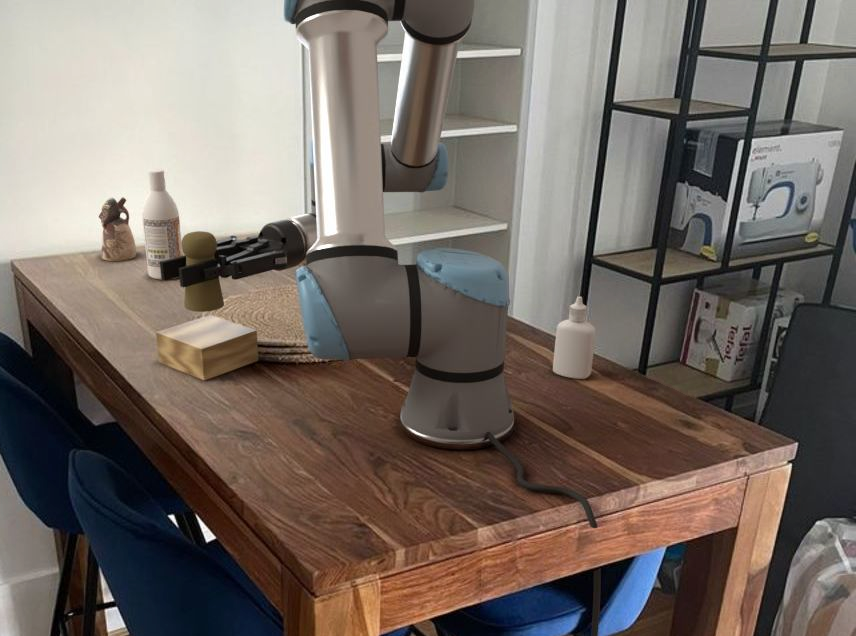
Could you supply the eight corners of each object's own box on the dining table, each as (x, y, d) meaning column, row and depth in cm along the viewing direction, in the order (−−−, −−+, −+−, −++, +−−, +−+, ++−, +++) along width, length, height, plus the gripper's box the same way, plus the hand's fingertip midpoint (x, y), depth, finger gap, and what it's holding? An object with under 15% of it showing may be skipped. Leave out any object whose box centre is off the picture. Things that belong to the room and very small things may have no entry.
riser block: (258, 360, 159) (256, 330, 157) (204, 380, 152) (201, 349, 150) (213, 344, 166) (210, 314, 163) (159, 362, 159) (155, 332, 156)
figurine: (103, 252, 214) (96, 194, 208) (138, 251, 215) (131, 193, 209) (100, 261, 208) (92, 202, 202) (135, 260, 208) (128, 201, 202)
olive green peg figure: (216, 312, 151) (211, 239, 146) (178, 310, 152) (171, 237, 147) (229, 300, 157) (224, 228, 151) (192, 297, 158) (185, 226, 152)
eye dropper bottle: (571, 365, 156) (579, 289, 151) (595, 377, 152) (603, 300, 146) (548, 370, 155) (555, 294, 149) (571, 383, 150) (579, 304, 144)
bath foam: (185, 279, 197) (176, 173, 187) (149, 281, 196) (137, 174, 186) (183, 269, 203) (173, 165, 193) (147, 271, 202) (136, 167, 192)
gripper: (327, 276, 159) (209, 312, 145) (257, 255, 170) (140, 286, 155) (327, 229, 155) (205, 260, 141) (255, 210, 166) (135, 238, 152)
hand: (171, 274), depth 148 cm, fingers closed on olive green peg figure, 4 cm apart
